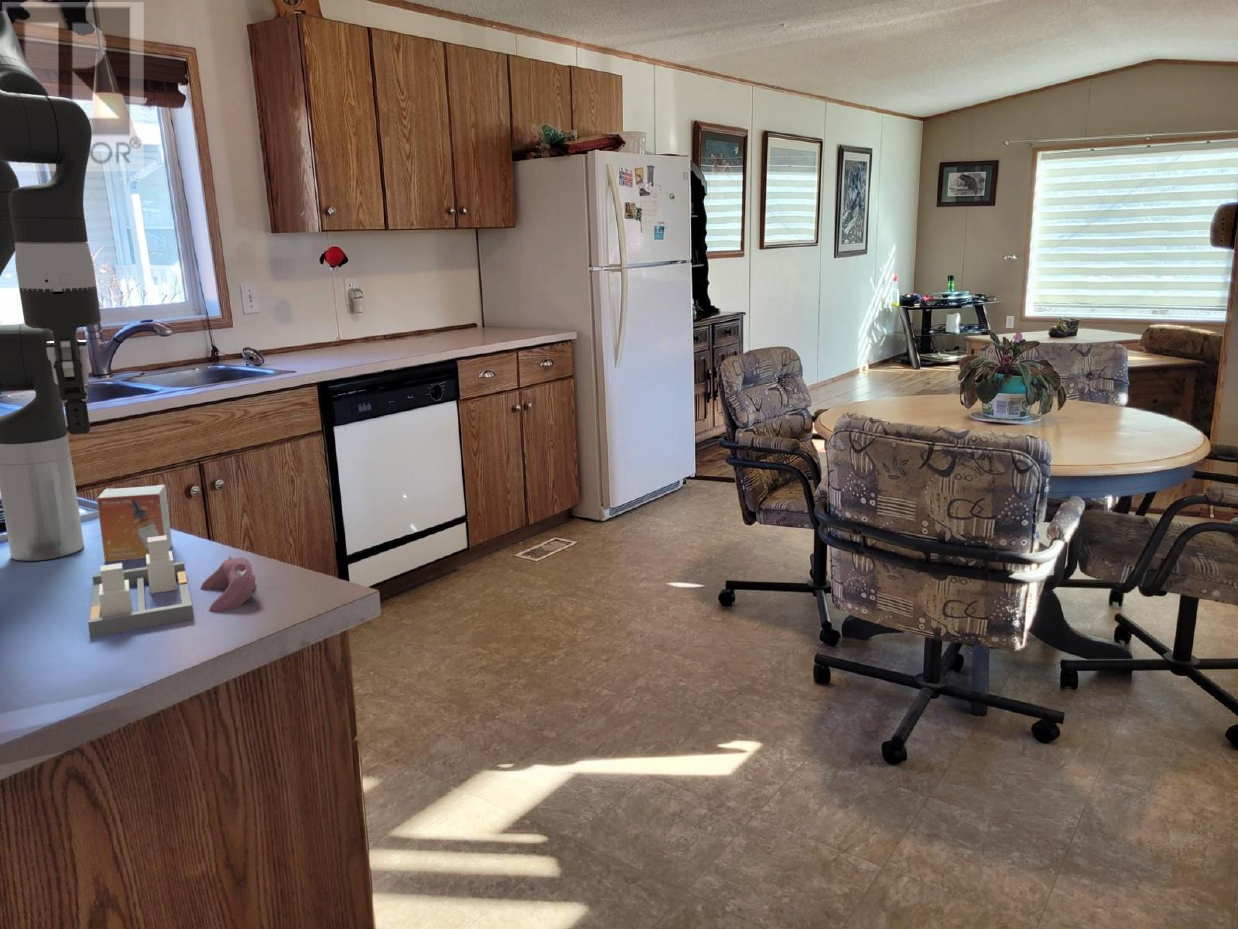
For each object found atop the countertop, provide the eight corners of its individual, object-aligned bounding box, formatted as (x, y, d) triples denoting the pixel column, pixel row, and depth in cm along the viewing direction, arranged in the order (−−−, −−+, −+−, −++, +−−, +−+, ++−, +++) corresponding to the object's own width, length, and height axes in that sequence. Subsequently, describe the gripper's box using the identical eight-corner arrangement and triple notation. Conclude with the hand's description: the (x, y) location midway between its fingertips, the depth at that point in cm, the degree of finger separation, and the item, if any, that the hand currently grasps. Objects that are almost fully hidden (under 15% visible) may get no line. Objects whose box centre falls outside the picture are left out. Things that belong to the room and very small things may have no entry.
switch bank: (94, 593, 117) (91, 571, 116) (187, 578, 122) (184, 557, 121) (89, 652, 100) (85, 627, 99) (197, 633, 105) (194, 609, 104)
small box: (105, 570, 125) (94, 498, 123) (113, 557, 130) (103, 487, 128) (168, 564, 127) (159, 493, 125) (174, 552, 133) (165, 483, 130)
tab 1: (104, 615, 107) (96, 563, 105) (133, 610, 108) (125, 559, 106) (103, 627, 103) (95, 574, 102) (133, 622, 104) (125, 570, 103)
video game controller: (244, 628, 110) (266, 576, 110) (206, 620, 107) (229, 566, 107) (232, 602, 118) (252, 553, 118) (196, 593, 116) (217, 543, 116)
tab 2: (149, 583, 117) (143, 536, 115) (175, 579, 118) (169, 532, 116) (150, 593, 113) (144, 544, 112) (176, 589, 115) (170, 541, 113)
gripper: (22, 280, 105) (44, 425, 110) (14, 288, 94) (39, 448, 99) (95, 279, 109) (114, 419, 113) (96, 286, 98) (117, 441, 102)
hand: (79, 432), depth 106 cm, fingers closed
